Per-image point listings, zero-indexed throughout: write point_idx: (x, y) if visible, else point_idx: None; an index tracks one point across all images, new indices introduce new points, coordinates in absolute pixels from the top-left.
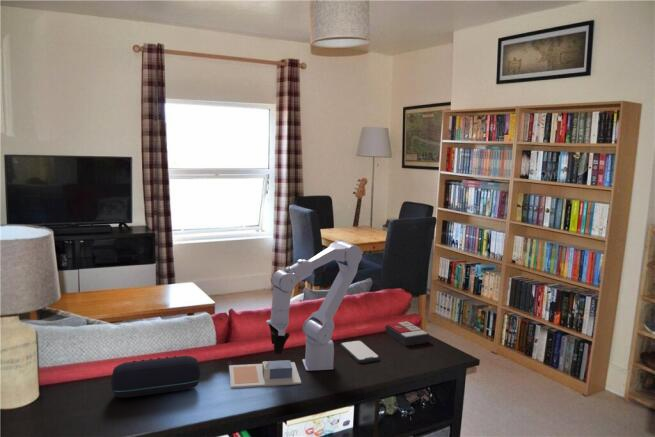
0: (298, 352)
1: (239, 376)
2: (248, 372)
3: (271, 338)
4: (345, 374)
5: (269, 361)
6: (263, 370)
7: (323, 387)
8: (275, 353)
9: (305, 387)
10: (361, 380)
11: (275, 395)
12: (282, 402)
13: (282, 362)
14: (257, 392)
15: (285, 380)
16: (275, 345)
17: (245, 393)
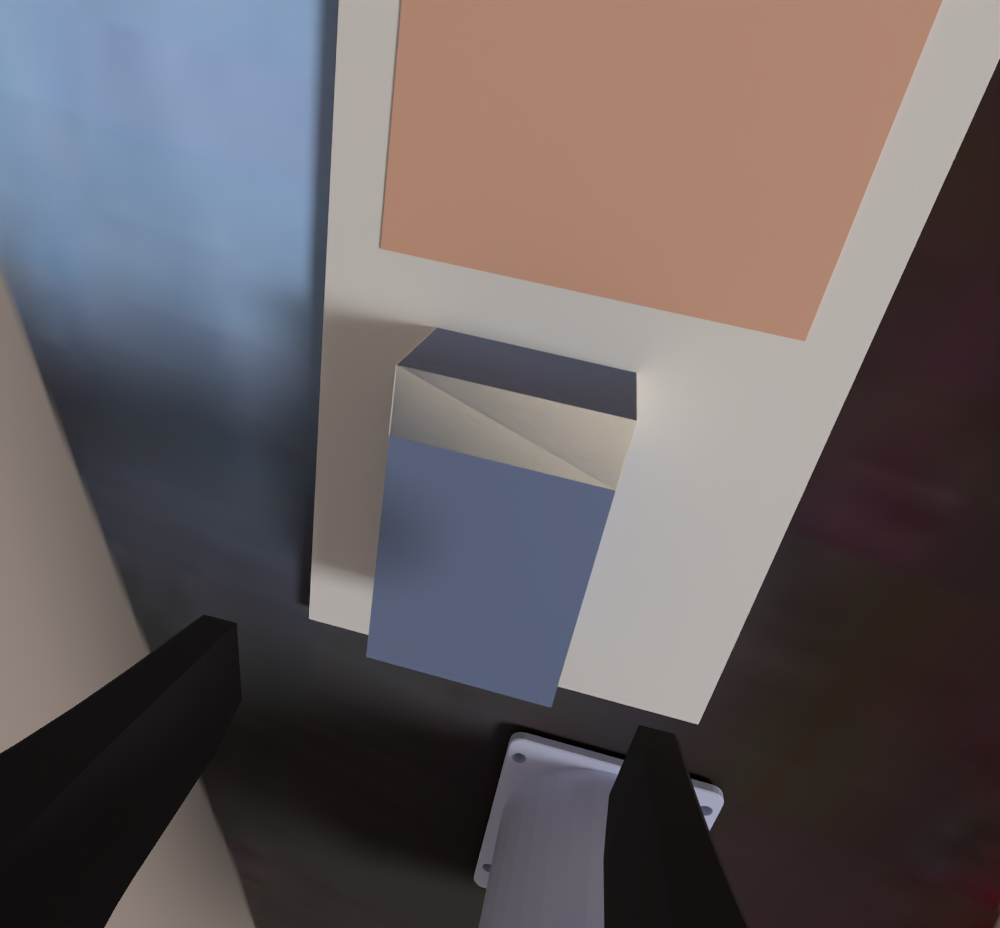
0: (909, 829)
1: (599, 14)
2: (666, 186)
3: (655, 824)
4: (392, 888)
5: (602, 504)
6: (498, 366)
7: (242, 711)
8: (195, 625)
9: (258, 611)
10: (298, 909)
11: (151, 339)
12: (36, 357)
13: (521, 624)
14: (220, 174)
15: (365, 518)
16: (51, 750)
17: (211, 14)
